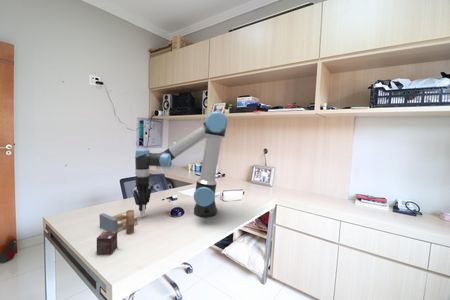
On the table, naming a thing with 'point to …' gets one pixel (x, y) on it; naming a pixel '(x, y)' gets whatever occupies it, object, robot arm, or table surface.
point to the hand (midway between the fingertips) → (142, 215)
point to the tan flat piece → (123, 221)
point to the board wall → (108, 223)
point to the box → (106, 243)
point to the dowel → (130, 222)
